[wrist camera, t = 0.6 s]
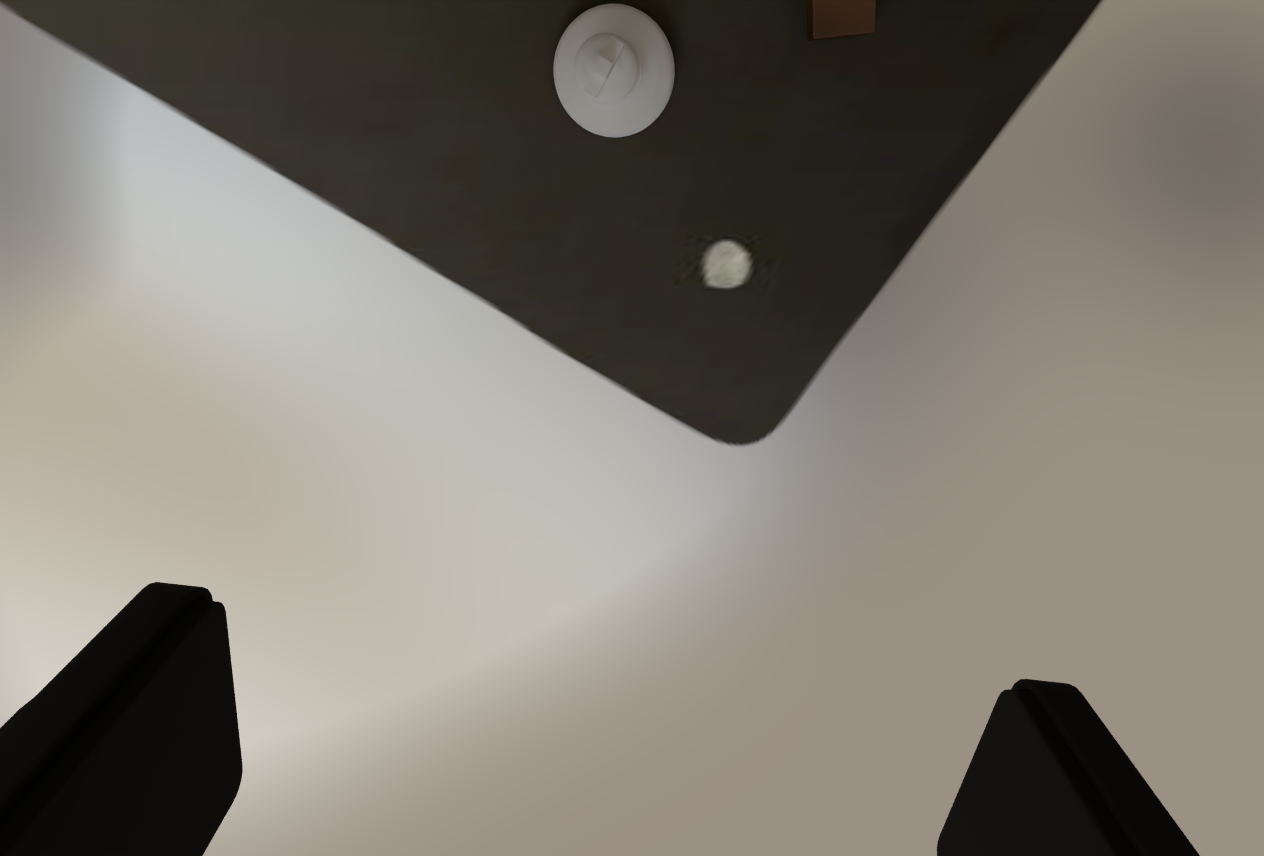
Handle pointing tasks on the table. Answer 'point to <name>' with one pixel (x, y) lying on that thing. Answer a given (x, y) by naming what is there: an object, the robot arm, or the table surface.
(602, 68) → the chess piece
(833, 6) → the spatula
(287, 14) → the table surface
